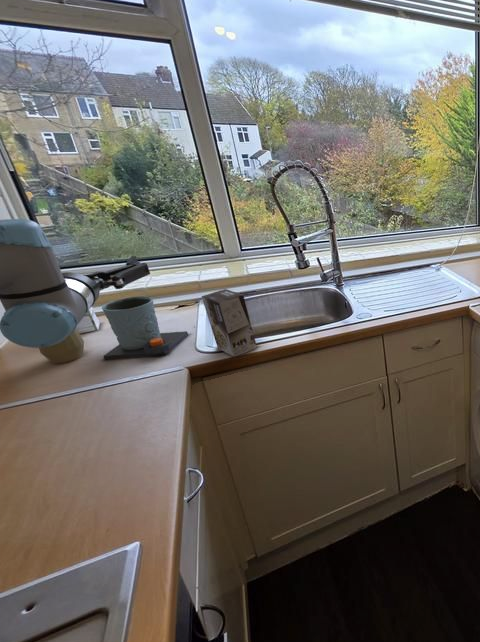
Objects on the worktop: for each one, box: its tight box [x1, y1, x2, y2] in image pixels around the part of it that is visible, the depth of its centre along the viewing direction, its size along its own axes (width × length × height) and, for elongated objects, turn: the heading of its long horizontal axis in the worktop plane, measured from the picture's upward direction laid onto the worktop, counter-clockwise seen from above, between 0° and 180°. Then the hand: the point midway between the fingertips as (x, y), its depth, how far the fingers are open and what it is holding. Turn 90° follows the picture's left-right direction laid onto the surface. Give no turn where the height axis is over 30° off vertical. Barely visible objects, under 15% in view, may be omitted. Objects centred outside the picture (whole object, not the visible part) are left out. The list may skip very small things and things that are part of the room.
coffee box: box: [201, 288, 257, 358], centre depth 110 cm, size 9×6×16 cm
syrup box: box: [76, 306, 100, 335], centre depth 119 cm, size 6×6×14 cm
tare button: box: [150, 338, 164, 347], centre depth 109 cm, size 3×3×2 cm
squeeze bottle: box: [38, 328, 85, 364], centre depth 104 cm, size 8×8×18 cm
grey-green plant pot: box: [101, 295, 161, 350], centre depth 111 cm, size 10×10×12 cm
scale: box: [102, 330, 189, 361], centre depth 112 cm, size 15×13×3 cm
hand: (96, 265), depth 91 cm, fingers open, 13 cm apart
